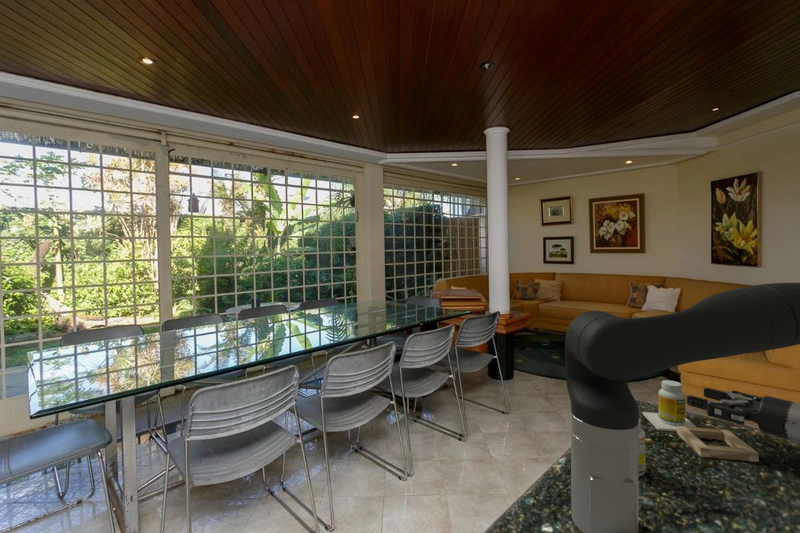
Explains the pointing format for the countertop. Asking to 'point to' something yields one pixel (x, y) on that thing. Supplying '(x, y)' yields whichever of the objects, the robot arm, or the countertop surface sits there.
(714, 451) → the socket block
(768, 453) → the countertop surface
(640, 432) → the supplement bottle
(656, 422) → the coaster
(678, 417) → the supplement bottle
